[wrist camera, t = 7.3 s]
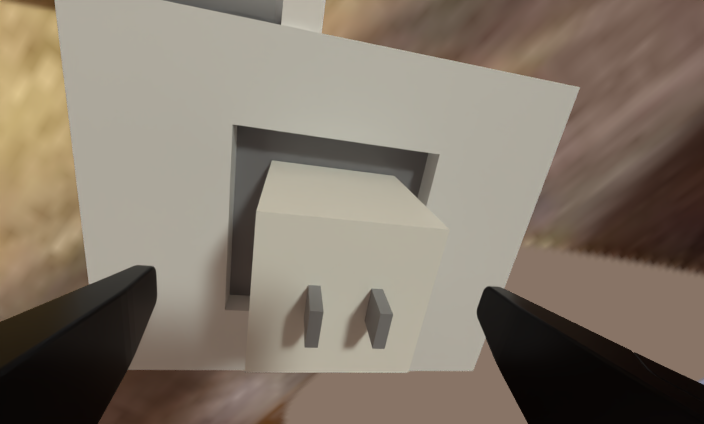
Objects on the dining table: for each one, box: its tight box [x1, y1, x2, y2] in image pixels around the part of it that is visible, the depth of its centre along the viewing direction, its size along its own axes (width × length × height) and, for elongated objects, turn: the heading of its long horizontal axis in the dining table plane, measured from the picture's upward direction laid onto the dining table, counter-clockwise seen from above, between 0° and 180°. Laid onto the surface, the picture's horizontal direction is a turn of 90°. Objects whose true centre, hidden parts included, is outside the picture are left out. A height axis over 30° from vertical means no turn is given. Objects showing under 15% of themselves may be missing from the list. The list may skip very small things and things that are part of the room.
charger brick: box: [245, 160, 450, 373], centre depth 10 cm, size 5×5×6 cm
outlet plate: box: [55, 0, 580, 371], centre depth 13 cm, size 16×13×1 cm
